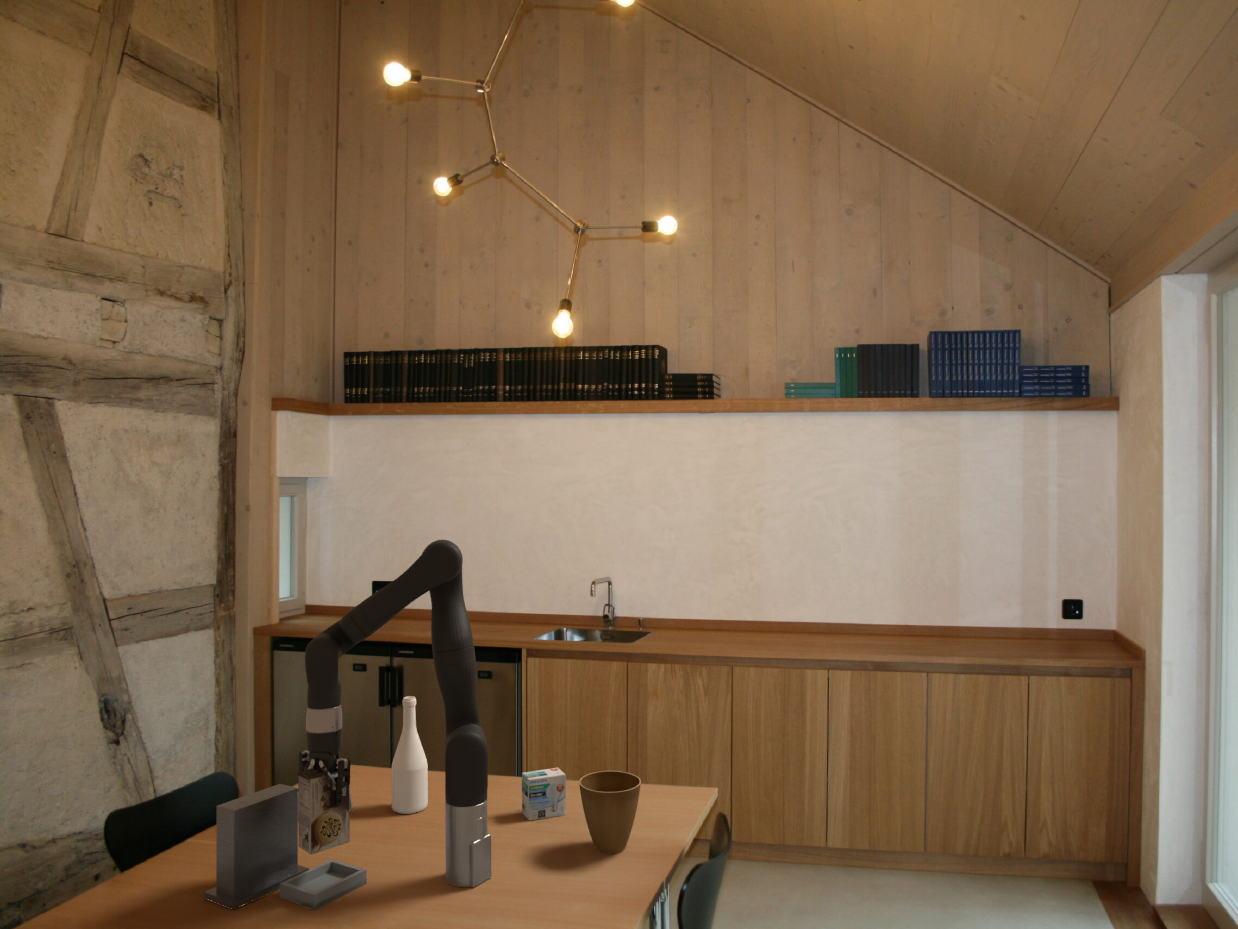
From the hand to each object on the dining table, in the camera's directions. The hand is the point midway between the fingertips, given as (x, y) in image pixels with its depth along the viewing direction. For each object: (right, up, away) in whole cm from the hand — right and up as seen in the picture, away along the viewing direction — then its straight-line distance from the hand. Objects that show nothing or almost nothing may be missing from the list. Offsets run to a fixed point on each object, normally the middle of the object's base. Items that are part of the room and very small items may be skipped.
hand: (324, 803), depth 190 cm
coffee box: (0, -9, 0) cm, 9 cm away
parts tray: (0, -19, -1) cm, 19 cm away
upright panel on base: (-15, -19, +2) cm, 24 cm away
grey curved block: (-16, -21, +45) cm, 52 cm away
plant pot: (+62, -19, +21) cm, 68 cm away
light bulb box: (+44, -20, +43) cm, 65 cm away
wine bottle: (+7, -20, +48) cm, 52 cm away
